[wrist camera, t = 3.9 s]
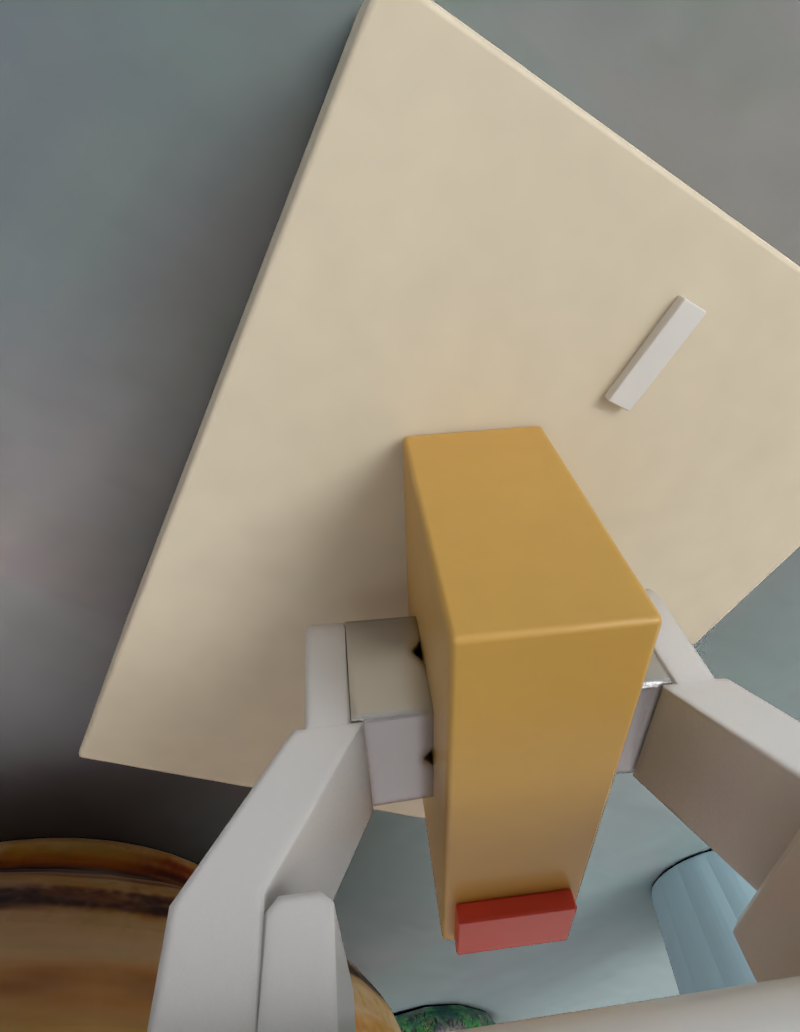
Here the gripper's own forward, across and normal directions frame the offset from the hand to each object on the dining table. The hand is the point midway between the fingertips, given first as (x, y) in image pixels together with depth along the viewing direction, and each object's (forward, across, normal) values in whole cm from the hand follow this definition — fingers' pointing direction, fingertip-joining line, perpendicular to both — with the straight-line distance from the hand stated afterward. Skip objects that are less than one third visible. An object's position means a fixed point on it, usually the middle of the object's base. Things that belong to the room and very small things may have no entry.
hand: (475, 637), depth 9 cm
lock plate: (+4, 0, 0) cm, 4 cm away
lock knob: (+1, 0, 0) cm, 1 cm away
